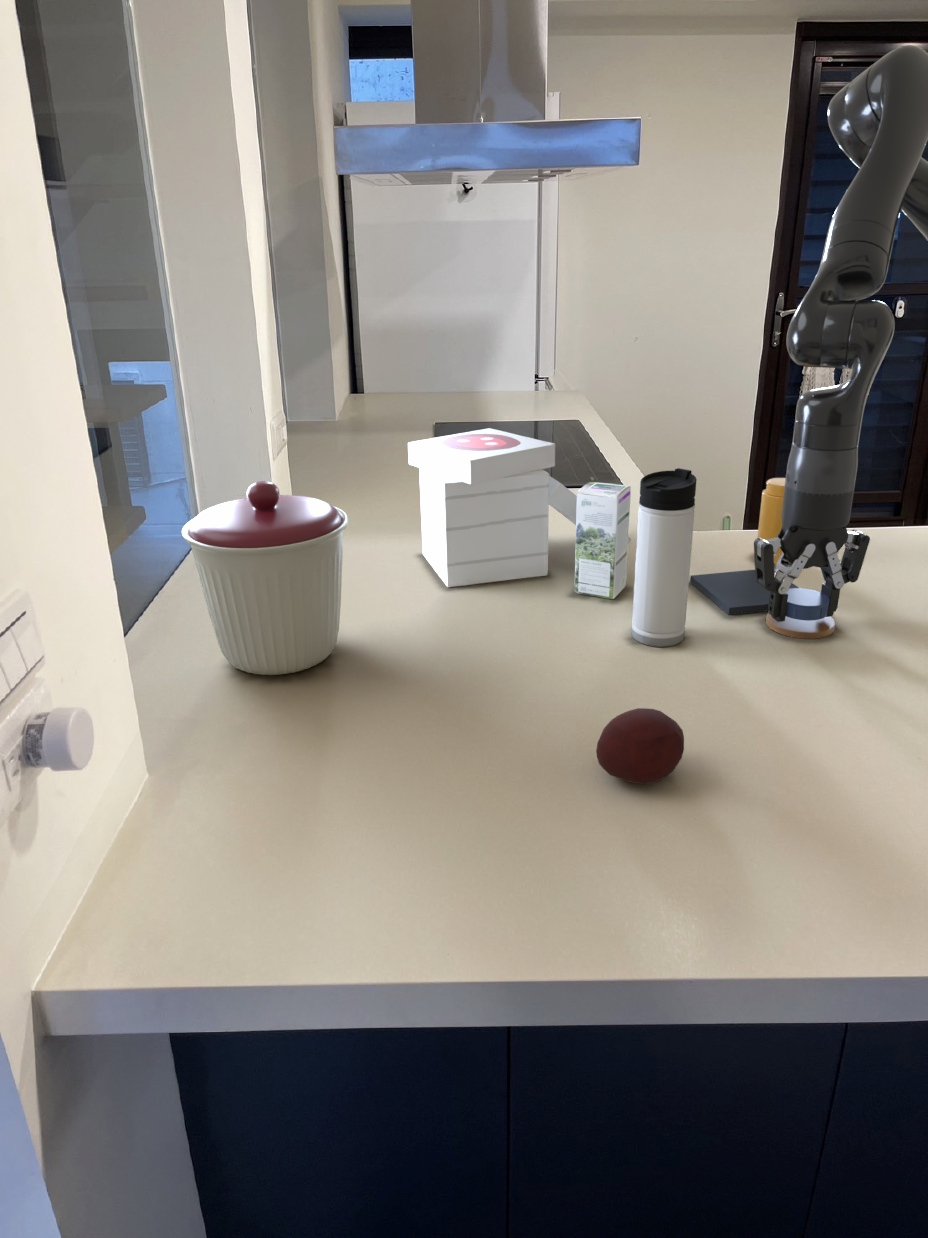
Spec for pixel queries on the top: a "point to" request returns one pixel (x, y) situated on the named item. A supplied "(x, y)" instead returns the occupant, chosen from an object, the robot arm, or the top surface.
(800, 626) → the coaster
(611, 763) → the potato
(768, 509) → the jar
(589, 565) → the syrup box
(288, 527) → the canister
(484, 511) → the pizza boxes
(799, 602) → the jar lid
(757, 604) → the mat
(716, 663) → the top surface
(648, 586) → the travel mug
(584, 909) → the top surface
